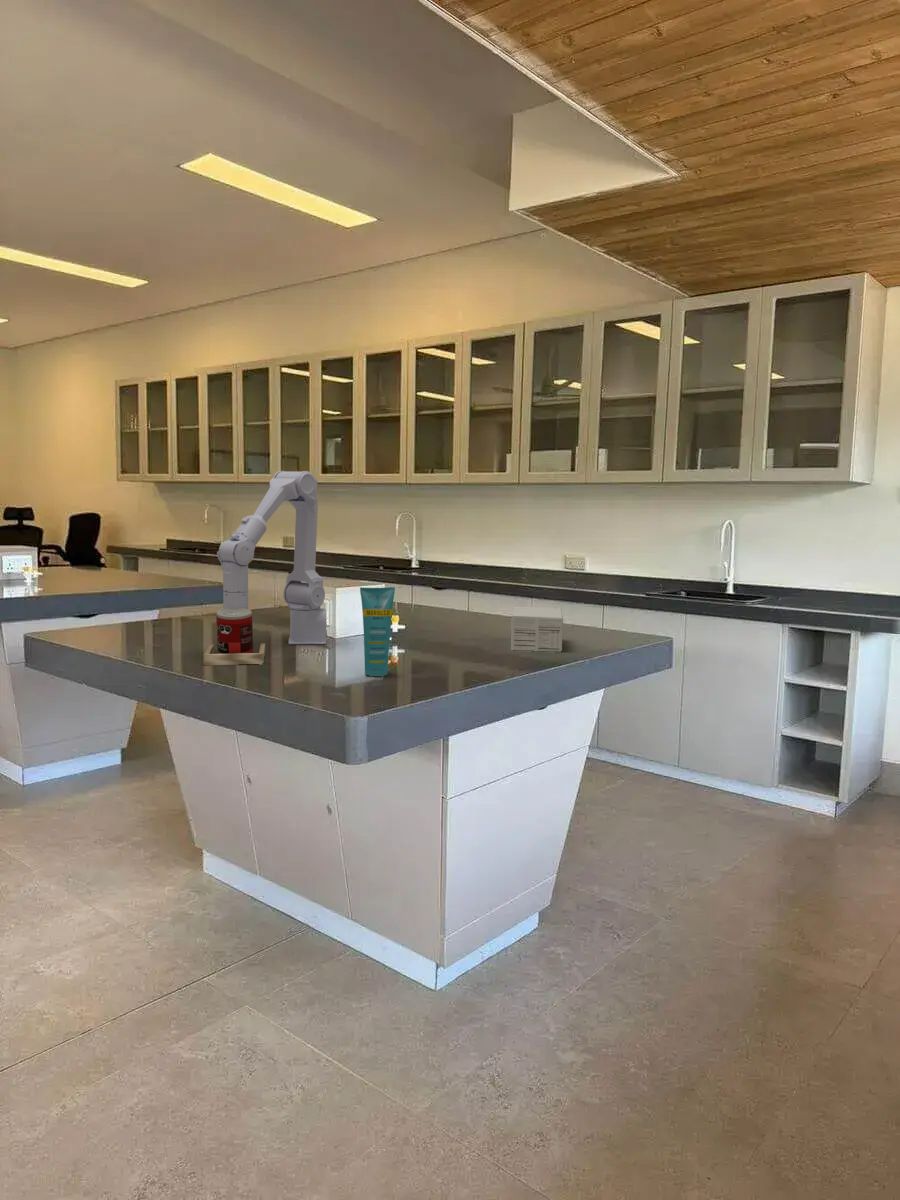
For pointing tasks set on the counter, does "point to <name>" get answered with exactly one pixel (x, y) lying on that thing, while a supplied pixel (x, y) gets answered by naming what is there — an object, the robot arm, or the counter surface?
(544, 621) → the supplement box
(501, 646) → the counter surface
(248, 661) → the bracket
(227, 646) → the canned food
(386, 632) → the tube
